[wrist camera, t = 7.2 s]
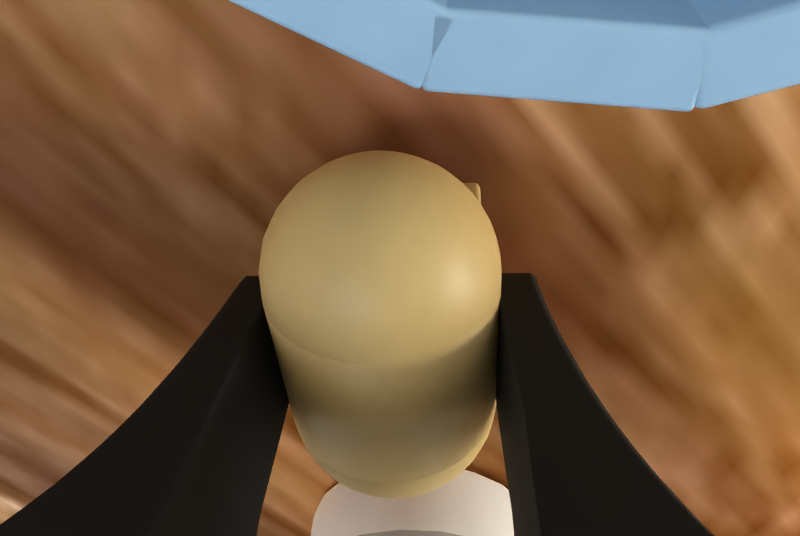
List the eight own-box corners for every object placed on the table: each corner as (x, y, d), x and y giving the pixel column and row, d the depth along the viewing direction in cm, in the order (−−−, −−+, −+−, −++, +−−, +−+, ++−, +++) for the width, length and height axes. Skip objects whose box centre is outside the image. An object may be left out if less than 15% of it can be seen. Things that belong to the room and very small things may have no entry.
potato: (263, 108, 12) (202, 264, 9) (499, 100, 12) (514, 259, 9) (321, 377, 17) (293, 536, 14) (490, 377, 17) (498, 540, 14)
